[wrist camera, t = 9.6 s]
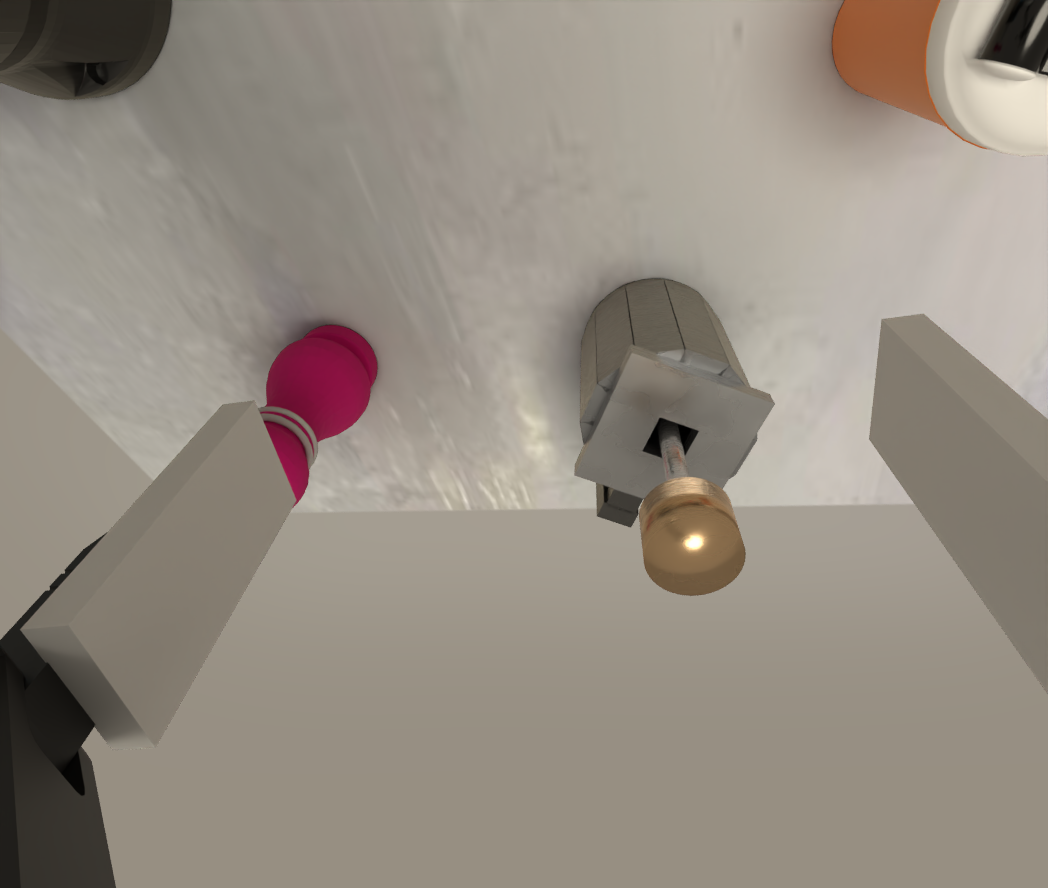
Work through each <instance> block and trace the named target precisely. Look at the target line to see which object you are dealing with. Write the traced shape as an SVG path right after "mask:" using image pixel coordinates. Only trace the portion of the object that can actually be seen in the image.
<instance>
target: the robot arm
mask: <svg viewBox="0 0 1048 888" xmlns="http://www.w3.org/2000/svg"><path fill="white" fill-rule="evenodd" d="M170 9H171V0H0V82H1V83H3V84H6V85H9V86H12V87H14V88H17V89H20V90H23V91H25V92H28V93H31V94H34V95H38V96H42V97H48V98H54V99H64V100H76V99H86V98H93V97H101V96H106V95H110V94H113V93H116V92H119V91H121V90H123V89H125V88H127V87H129V86H130V85H132V84H133V83H135V82H136V81H137V80H138V79H140V78H141V77H142V76H143V75H144V74H145V73H146V72H147V70H148V69H149V68H150V67H151V65H152V64H153V62H154V61H155V59H156V57H157V56H158V54H159V52H160V50H161V47H162V45H163V42H164V39H165V36H166V33H167V29H168V24H169V18H170ZM869 440H870V441H871V442H872V444H873V445H874V447H875V448H876V450H877V451H878V452H879V454H880V455H881V457H882V458H883V460H884V461H885V462H886V464H887V465H888V467H889V468H890V470H891V471H892V472H893V474H894V475H895V477H896V478H897V480H898V481H899V482H900V484H901V485H902V487H903V488H904V490H905V491H906V492H907V494H908V495H909V497H910V498H911V500H912V501H913V502H914V504H915V505H916V507H917V508H918V510H919V511H920V512H921V514H922V515H923V517H924V518H925V520H926V521H927V522H928V524H929V525H930V527H931V528H932V530H933V531H934V532H935V534H936V535H937V537H938V538H939V540H940V541H941V542H942V544H943V545H944V547H945V548H946V550H947V551H948V552H949V554H950V555H951V557H952V558H953V560H954V561H955V562H956V564H957V565H958V567H959V568H960V569H961V571H962V572H963V574H964V575H965V576H966V578H967V580H968V581H969V582H970V584H971V585H972V586H973V588H974V589H975V591H976V592H977V594H978V595H979V597H980V598H981V599H982V601H983V602H984V604H985V605H986V607H987V608H988V609H989V611H990V612H991V614H992V615H993V616H994V618H995V619H996V621H997V622H998V624H999V625H1000V626H1001V628H1002V629H1003V631H1004V632H1005V634H1006V635H1007V636H1008V638H1009V639H1010V641H1011V642H1012V644H1013V645H1014V646H1015V648H1016V649H1017V651H1018V652H1019V654H1020V655H1021V657H1022V658H1023V659H1024V661H1025V662H1026V664H1027V665H1028V666H1029V668H1030V669H1031V671H1032V672H1033V674H1034V675H1035V677H1036V678H1037V679H1038V681H1039V682H1040V684H1041V685H1042V687H1043V688H1044V689H1045V690H1046V692H1047V694H1048V419H1047V418H1046V417H1044V416H1043V415H1042V414H1041V413H1040V412H1039V411H1037V410H1036V409H1035V408H1034V407H1033V406H1031V405H1030V404H1029V403H1028V402H1027V401H1026V400H1024V399H1023V398H1022V397H1021V396H1020V395H1019V394H1017V393H1016V392H1015V391H1014V390H1013V389H1011V388H1010V387H1009V386H1008V385H1007V384H1006V383H1004V382H1003V381H1002V380H1001V379H1000V378H998V377H997V376H996V375H995V374H994V373H993V372H991V371H990V370H989V369H988V368H987V367H986V366H984V365H983V364H982V363H981V362H980V361H978V360H977V359H976V358H975V357H974V356H973V355H971V354H970V353H969V352H968V351H967V350H966V349H964V348H963V347H962V346H961V345H960V344H958V343H957V342H956V341H955V340H954V339H953V338H951V337H950V336H949V335H948V334H947V333H945V332H944V331H943V330H942V329H941V328H940V327H938V326H937V325H936V324H935V323H934V322H933V321H931V320H930V319H929V318H928V317H927V316H925V315H924V314H919V315H911V316H903V317H895V318H888V319H882V321H881V330H880V340H879V350H878V359H877V369H876V379H875V388H874V398H873V407H872V417H871V427H870V436H869ZM296 501H297V500H296V498H295V495H294V493H293V491H292V488H291V486H290V483H289V481H288V479H287V476H286V474H285V472H284V469H283V467H282V464H281V462H280V460H279V457H278V455H277V453H276V450H275V448H274V445H273V443H272V441H271V438H270V436H269V433H268V431H267V429H266V426H265V424H264V422H263V419H262V417H261V414H260V412H259V410H258V407H257V405H256V402H255V401H247V402H239V403H232V404H224V405H222V406H221V407H220V408H219V409H218V410H217V412H216V413H215V414H214V415H213V416H212V417H211V418H210V419H209V420H208V422H207V423H206V424H205V425H204V426H203V427H202V428H201V429H200V430H199V432H198V433H197V434H196V435H195V436H194V437H193V438H192V439H191V440H190V441H189V443H188V444H187V445H186V446H185V447H184V448H183V449H182V450H181V451H180V453H179V454H178V455H177V456H176V457H175V458H174V459H173V460H172V461H171V463H170V464H169V465H168V466H167V467H166V468H165V469H164V470H163V471H162V473H161V474H160V475H159V476H158V477H157V478H156V479H155V480H154V481H153V483H152V484H151V485H150V486H149V487H148V488H147V489H146V490H145V491H144V493H143V494H142V495H141V496H140V497H139V498H138V499H137V500H136V501H135V503H134V504H133V505H132V506H131V507H130V508H129V509H128V510H127V511H126V513H125V514H124V515H123V516H122V517H121V518H120V519H119V520H118V522H117V523H116V524H115V525H114V526H113V527H112V528H111V529H110V530H109V531H108V532H107V533H106V534H104V535H103V536H102V537H100V538H99V539H97V540H96V541H95V542H93V543H92V544H90V545H89V546H88V547H86V548H85V549H83V551H82V552H81V553H80V554H79V555H78V556H77V557H76V558H75V559H74V561H72V563H71V564H70V565H69V566H68V567H67V568H66V569H65V574H61V575H60V576H59V577H58V578H57V579H56V580H55V581H54V582H53V583H52V584H51V586H50V590H49V591H45V592H44V593H43V594H42V595H41V596H40V598H39V599H38V600H37V601H36V602H35V603H34V604H33V605H32V606H31V607H30V608H29V610H28V611H27V612H26V613H25V614H24V615H23V616H22V617H21V618H20V619H19V620H18V621H17V623H16V624H15V625H14V626H13V627H12V628H11V629H10V630H9V631H8V632H7V633H6V634H5V636H4V637H3V638H2V639H1V640H0V888H116V886H115V880H114V876H113V870H112V865H111V860H110V854H109V849H108V844H107V839H106V833H105V828H104V824H103V818H102V813H101V807H100V803H99V797H98V792H97V787H96V781H95V776H94V771H93V766H92V761H91V760H90V758H89V756H88V755H87V753H86V752H85V751H84V749H83V748H82V747H81V746H82V744H83V742H84V741H85V740H86V738H87V737H88V735H89V734H90V732H91V731H92V729H93V728H94V727H95V728H96V729H97V731H98V732H99V733H100V734H101V736H102V737H103V738H104V740H105V741H106V742H107V744H108V745H109V746H110V748H111V749H112V750H123V749H141V748H155V747H156V746H157V744H158V743H159V741H160V739H161V737H162V736H163V734H164V732H165V730H166V729H167V727H168V725H169V723H170V722H171V720H172V718H173V716H174V715H175V713H176V711H177V709H178V708H179V706H180V704H181V702H182V701H183V699H184V697H185V695H186V694H187V692H188V690H189V688H190V686H191V685H192V683H193V681H194V679H195V678H196V676H197V674H198V672H199V671H200V669H201V667H202V665H203V663H204V662H205V660H206V658H207V657H208V655H209V653H210V651H211V650H212V648H213V646H214V644H215V643H216V641H217V639H218V637H219V636H220V634H221V632H222V630H223V628H224V627H225V625H226V623H227V622H228V620H229V618H230V616H231V615H232V613H233V611H234V609H235V608H236V606H237V604H238V602H239V600H240V599H241V597H242V595H243V593H244V592H245V590H246V588H247V587H248V585H249V583H250V581H251V580H252V578H253V576H254V574H255V572H256V571H257V569H258V567H259V565H260V564H261V562H262V560H263V559H264V557H265V555H266V553H267V551H268V550H269V548H270V546H271V544H272V543H273V541H274V539H275V537H276V536H277V534H278V532H279V530H280V529H281V527H282V525H283V523H284V522H285V520H286V518H287V516H288V515H289V513H290V511H291V509H292V508H293V506H294V504H295V502H296Z"/></svg>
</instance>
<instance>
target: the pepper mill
mask: <svg viewBox="0 0 1048 888" xmlns="http://www.w3.org/2000/svg"><path fill="white" fill-rule="evenodd" d="M376 375H377V361H376V357H375V354H374V352H373V350H372V348H371V347H370V345H369V344H368V343H367V342H366V340H365V339H364V338H363V337H361V336H360V335H359V334H357V333H356V332H354V331H352V330H350V329H348V328H345V327H342V326H337V325H326V326H321V327H318V328H316V329H314V330H312V331H310V332H309V333H308V334H307V335H306V336H305V337H304V338H303V339H301V340H298V341H296V342H293V343H292V344H290V345H288V346H287V347H286V348H285V349H283V350H282V351H281V352H280V354H279V355H278V356H277V358H276V359H275V361H274V362H273V364H272V366H271V369H270V371H269V375H268V380H267V384H266V396H267V405H266V406H265V407H261V408H258V410H259V412H260V414H261V417H262V419H263V422H264V424H265V426H266V429H267V431H268V433H269V436H270V438H271V441H272V443H273V445H274V448H275V450H276V453H277V455H278V457H279V460H280V462H281V464H282V467H283V469H284V472H285V474H286V476H287V479H288V481H289V483H290V486H291V488H292V491H293V493H294V495H295V498H296V500H297V501H296V502H295V504H294V506H295V505H296V504H297V503H298V502H299V500H300V499H301V497H302V496H303V494H304V493H305V490H306V488H307V485H308V478H309V469H310V467H311V466H312V464H313V463H314V461H315V459H316V457H317V453H318V443H317V442H319V441H321V440H323V439H325V438H329V437H332V436H335V435H338V434H339V433H341V432H343V431H344V430H346V429H348V428H349V427H351V426H352V425H353V424H354V423H355V422H356V421H357V420H358V419H359V418H360V416H361V415H362V414H363V412H364V411H365V409H366V407H367V405H368V402H369V398H370V388H371V386H372V385H373V383H374V381H375V379H376ZM294 506H293V507H294Z"/></svg>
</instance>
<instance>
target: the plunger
mask: <svg viewBox="0 0 1048 888" xmlns="http://www.w3.org/2000/svg"><path fill="white" fill-rule="evenodd" d="M656 425H657V430H658V436H659V442H660V447H661V453H662V458H663V464H664V470H665V475H666V482H664V483H662V484H660V485H658V486H657V487H655V488H654V489H653V490H652V491H650V492H649V494H648V495H647V496H646V497H645V499H644V500H643V502H642V505H641V508H640V512H639V520H640V530H641V539H642V548H643V557H644V565H645V569H646V571H647V573H648V575H649V577H650V578H651V579H652V580H653V581H654V582H655V583H656V584H657V585H658V586H660V587H662V588H663V589H665V590H667V591H669V592H672V593H676V594H680V595H690V596H693V595H704V594H708V593H712V592H714V591H717V590H719V589H721V588H723V587H725V586H726V585H728V584H729V583H731V582H732V581H733V580H734V579H735V578H736V577H737V576H738V574H739V573H740V571H741V570H742V568H743V565H744V562H745V547H744V544H743V541H742V538H741V534H740V531H739V528H738V525H737V521H736V518H735V515H734V511H733V508H732V505H731V502H730V499H729V497H728V496H727V494H726V493H725V492H724V491H723V490H722V489H721V488H720V487H719V486H718V485H716V484H714V483H713V482H710V481H708V480H705V479H702V478H696V477H690V476H689V472H688V468H687V463H686V459H685V455H684V450H683V446H682V442H681V437H680V433H679V428H678V424H677V423H675V422H672V421H669V420H667V419H664V418H661V417H660V418H659V420H658V422H657V424H656Z"/></svg>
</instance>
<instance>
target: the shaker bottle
mask: <svg viewBox="0 0 1048 888" xmlns="http://www.w3.org/2000/svg"><path fill="white" fill-rule="evenodd" d="M832 47H833V57H834V61H835V65H836V67H837V69H838V72H839V74H840V76H841V77H842V78H843V79H844V81H845V82H846V83H847V84H848V85H849V86H850V87H852V88H853V89H854V90H856V91H858V92H860V93H862V94H865V95H867V96H870V97H872V98H875V99H877V100H880V101H882V102H885V103H887V104H890V105H892V106H895V107H897V108H900V109H903V110H905V111H908V112H910V113H913V114H915V115H918V116H920V117H923V118H925V119H928V120H930V121H933V122H935V123H938V124H940V125H943V126H945V127H947V128H948V129H949V130H950V131H951V132H953V133H954V134H955V135H957V136H958V137H959V138H961V139H962V140H963V141H966V142H968V143H970V144H973V145H975V146H978V147H980V148H984V149H990V150H994V151H997V152H1001V153H1006V154H1012V155H1018V156H1040V155H1048V0H845V1H844V3H843V5H842V7H841V9H840V11H839V13H838V16H837V20H836V23H835V26H834V32H833V39H832Z"/></svg>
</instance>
